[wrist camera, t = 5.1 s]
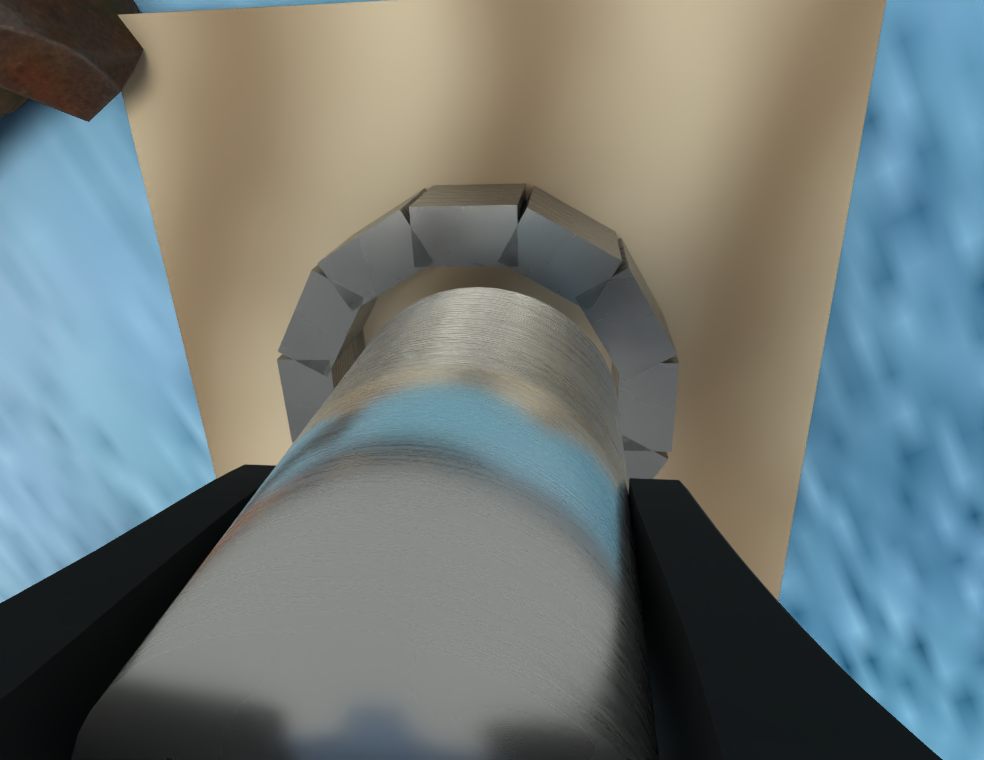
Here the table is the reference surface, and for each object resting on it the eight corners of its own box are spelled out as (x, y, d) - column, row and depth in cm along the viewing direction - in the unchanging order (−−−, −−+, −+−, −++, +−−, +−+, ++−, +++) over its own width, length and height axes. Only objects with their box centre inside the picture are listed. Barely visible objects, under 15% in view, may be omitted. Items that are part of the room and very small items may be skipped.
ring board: (870, -21, 14) (891, -27, 13) (765, 594, 21) (774, 619, 20) (130, 18, 16) (102, 15, 15) (257, 570, 22) (243, 592, 21)
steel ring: (675, 180, 15) (692, 202, 13) (651, 507, 18) (661, 569, 16) (295, 188, 16) (249, 209, 14) (343, 497, 19) (312, 554, 17)
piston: (643, 308, 10) (746, 701, 4) (594, 542, 12) (610, 1064, 6) (355, 269, 10) (17, 579, 4) (351, 505, 12) (113, 963, 6)
